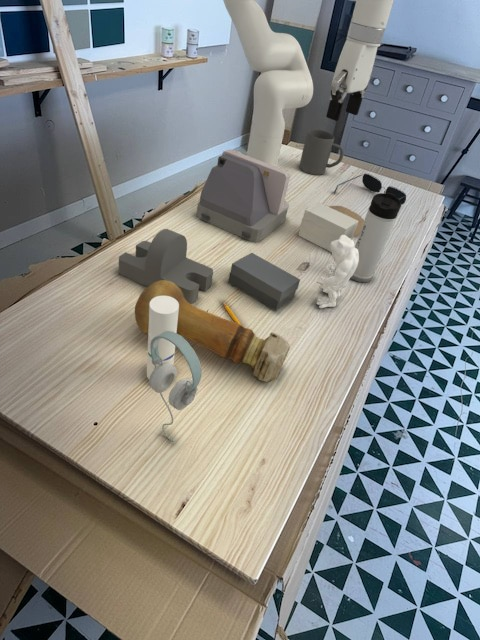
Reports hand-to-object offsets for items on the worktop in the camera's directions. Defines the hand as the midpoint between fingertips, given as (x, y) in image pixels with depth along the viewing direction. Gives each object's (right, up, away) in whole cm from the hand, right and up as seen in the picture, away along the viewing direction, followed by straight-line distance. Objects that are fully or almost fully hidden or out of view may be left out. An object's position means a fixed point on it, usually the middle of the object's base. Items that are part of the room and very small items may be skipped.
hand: (342, 116), depth 112 cm
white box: (-2, -25, +7) cm, 26 cm away
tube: (-38, -58, -34) cm, 78 cm away
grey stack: (-20, -43, -11) cm, 48 cm away
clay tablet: (+3, -22, +20) cm, 30 cm away
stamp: (-31, -55, -28) cm, 68 cm away
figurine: (-5, -45, -10) cm, 46 cm away
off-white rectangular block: (-3, -28, +10) cm, 30 cm away
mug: (+2, +1, +47) cm, 47 cm away
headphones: (-35, -67, -43) cm, 87 cm away
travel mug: (+4, -38, 0) cm, 39 cm away
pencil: (-24, -52, -23) cm, 61 cm away
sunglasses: (+16, -12, +35) cm, 40 cm away
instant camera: (-24, -22, +13) cm, 35 cm away
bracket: (-40, -40, -13) cm, 59 cm away
